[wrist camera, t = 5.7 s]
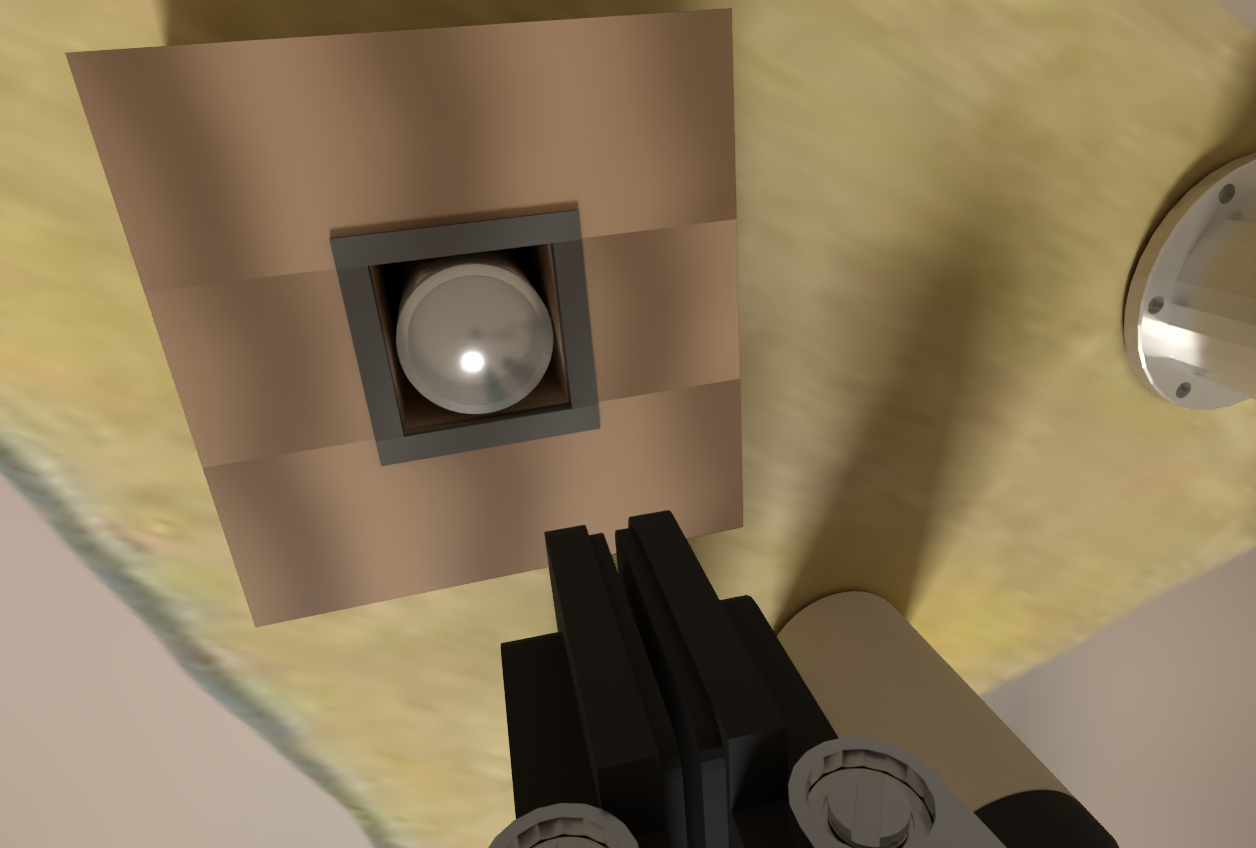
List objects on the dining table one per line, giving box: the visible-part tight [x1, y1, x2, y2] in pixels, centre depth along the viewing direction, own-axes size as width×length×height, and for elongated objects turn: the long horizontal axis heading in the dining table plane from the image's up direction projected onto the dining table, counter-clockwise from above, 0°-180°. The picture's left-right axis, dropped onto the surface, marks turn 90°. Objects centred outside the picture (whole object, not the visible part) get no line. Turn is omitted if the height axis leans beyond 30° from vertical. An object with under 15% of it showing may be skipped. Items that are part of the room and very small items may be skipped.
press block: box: [65, 8, 743, 627], centre depth 26 cm, size 16×16×8 cm
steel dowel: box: [396, 249, 553, 414], centre depth 26 cm, size 4×4×8 cm
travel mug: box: [777, 591, 1119, 848], centre depth 33 cm, size 8×8×18 cm
